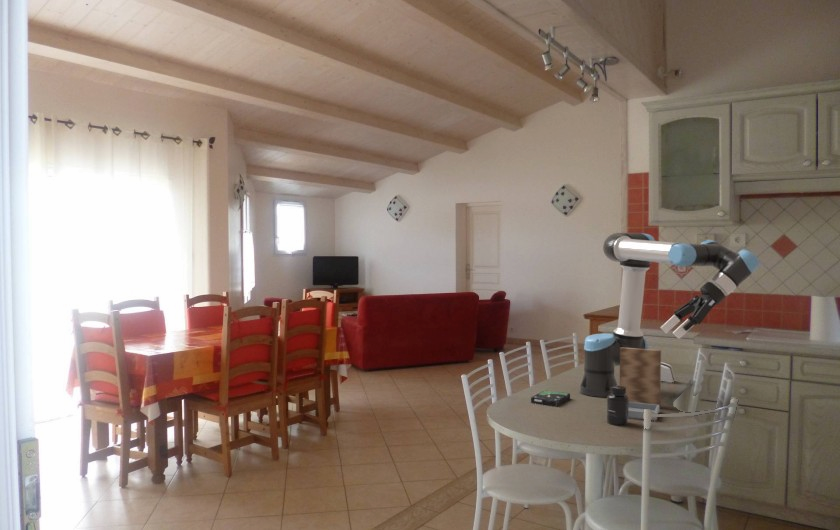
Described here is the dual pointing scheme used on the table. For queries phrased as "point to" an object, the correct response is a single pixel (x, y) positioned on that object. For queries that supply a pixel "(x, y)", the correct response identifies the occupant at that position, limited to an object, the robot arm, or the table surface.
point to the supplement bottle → (617, 406)
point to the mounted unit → (641, 374)
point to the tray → (641, 410)
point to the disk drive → (550, 398)
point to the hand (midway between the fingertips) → (669, 333)
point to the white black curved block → (667, 373)
